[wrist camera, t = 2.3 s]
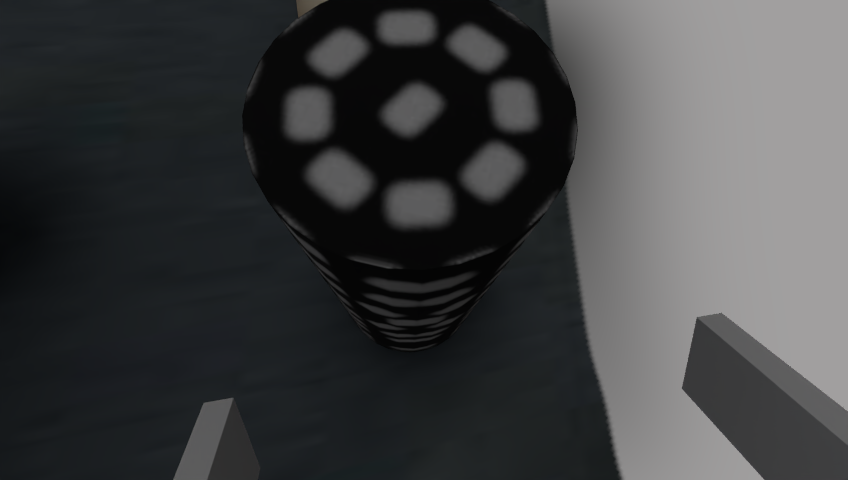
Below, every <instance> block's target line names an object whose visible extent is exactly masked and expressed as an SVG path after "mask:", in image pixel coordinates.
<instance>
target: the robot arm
mask: <svg viewBox="0 0 848 480" xmlns="http://www.w3.org/2000/svg"><path fill="white" fill-rule="evenodd" d="M682 389H683V390H684V391H685V392H686V394H687V395H688V396H689V397H690V398H691V399H692V400H693V401H694V402H695V403H696V405H697V406H698V407H699V408H700V409H701V410H702V411H703V412H704V413H705V414H706V416H707V417H708V418H709V419H710V420H711V421H712V422H713V423H714V424H715V425H716V427H717V428H718V429H719V430H720V431H721V432H722V433H723V434H724V435H725V437H726V438H727V439H728V440H729V441H730V442H731V443H732V444H733V445H734V446H735V448H736V449H737V450H738V451H739V452H740V453H741V454H742V455H743V456H744V458H745V459H746V460H747V461H748V462H749V463H750V464H751V465H752V466H753V468H754V469H755V470H756V471H757V472H758V473H759V474H760V475H761V476H762V477H763V479H764V480H848V411H846V410H845V409H844V408H843V407H841V406H840V405H839V404H837V403H836V402H835V401H834V400H832V399H831V398H830V397H828V396H827V395H826V394H825V393H823V392H822V391H821V390H819V389H818V388H817V387H816V386H814V385H813V384H812V383H810V382H809V381H808V380H806V379H805V378H804V377H803V376H802V375H800V374H799V373H798V372H796V371H795V370H794V369H792V368H791V367H790V366H789V365H787V364H786V363H785V362H784V361H782V360H781V359H780V358H778V357H777V356H776V355H775V354H773V353H772V352H770V351H769V350H768V349H767V348H766V347H764V346H763V345H762V344H761V343H759V342H758V341H757V340H755V339H754V338H753V337H751V336H750V335H749V334H747V333H746V332H745V331H744V330H743V329H741V328H740V327H739V326H737V325H736V324H735V323H734V322H732V321H731V320H730V319H728V318H727V317H726V316H725V315H723V314H722V313H719V314H713V315H708V316H702V317H697V319H696V324H695V329H694V334H693V339H692V343H691V348H690V353H689V358H688V362H687V367H686V372H685V377H684V382H683V386H682ZM259 471H260V466H259V463H258V461H257V458H256V455H255V453H254V450H253V447H252V445H251V442H250V440H249V437H248V434H247V432H246V429H245V426H244V424H243V421H242V419H241V416H240V413H239V411H238V408H237V406H236V403H235V400H234V398H229V399H223V400H218V401H212V402H206V403H204V404H203V406H202V409H201V411H200V414H199V416H198V419H197V421H196V424H195V426H194V429H193V431H192V434H191V436H190V439H189V442H188V444H187V447H186V449H185V452H184V454H183V457H182V459H181V462H180V464H179V467H178V469H177V472H176V474H175V477H174V479H173V480H258V476H259Z"/></svg>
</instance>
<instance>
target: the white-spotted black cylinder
mask: <svg viewBox="0 0 848 480" xmlns="http://www.w3.org/2000/svg"><path fill="white" fill-rule="evenodd" d="M242 118H243V139H244V147H245V151H246V154H247V157H248V161H249V164H250V168H251V171H252V174H253V176H254V178H255V179H256V181H257V183H258V185H259V186H260V188H261V190H262V192H263V194H264V195H265V197H266V199H267V201H268V202H269V203H270V205H271V206H272V208H273V209H274V210H275V212H276V213H277V214H278V216H279V217H280V219H281V220H282V221H283V223H284V224H285V226H286V227H287V228H288V230H289V231H290V232H291V234H292V235H293V237H294V238H295V239H296V241H297V242H298V244H299V245H300V246H301V248H302V249H303V250H304V252H305V253H306V255H307V256H308V257H309V259H310V260H311V262H312V263H313V264H314V266H315V267H316V268H317V270H318V271H319V273H320V274H321V275H322V277H323V278H324V280H325V281H326V282H327V284H328V285H329V286H330V288H331V289H332V291H333V292H334V293H335V295H336V296H337V298H338V299H339V300H340V302H341V303H342V304H343V306H344V307H345V309H346V310H347V311H348V313H349V314H350V315H351V317H352V318H353V320H354V321H355V322H356V324H357V325H358V327H359V328H360V329H361V330H362V331H363V332H364V333H365V334H366V335H367V336H368V337H369V338H370V339H372V340H373V341H375V342H376V343H377V344H380V345H382V346H384V347H386V348H388V349H392V350H397V351H402V352H415V351H421V350H426V349H429V348H432V347H434V346H437V345H439V344H440V343H442V342H443V341H445V340H446V339H448V338H449V337H450V336H451V335H452V334H453V333H454V332H455V331H456V330H457V329H458V328H459V327H460V325H461V324H462V323H463V321H464V320H465V319H466V317H467V316H468V315H469V313H470V312H471V311H472V309H473V308H474V307H475V305H476V304H477V303H478V302H479V300H480V299H481V298H482V296H483V295H484V294H485V292H486V291H487V290H488V288H489V287H490V286H491V284H492V283H493V282H494V280H495V279H496V278H497V276H498V275H499V274H500V272H501V271H502V270H503V268H504V267H505V266H506V264H507V263H508V262H509V260H510V259H511V258H512V257H513V255H514V254H515V253H516V251H517V250H518V249H519V247H520V246H521V245H522V243H523V242H524V241H525V239H526V238H527V237H528V235H529V234H530V233H531V231H532V230H533V229H534V227H535V226H536V225H537V223H538V222H539V221H540V219H541V218H542V217H543V215H544V214H545V213H546V211H547V210H548V208H549V207H550V206H551V204H552V203H553V201H554V200H555V198H556V197H557V195H558V194H559V192H560V191H561V189H562V188H563V186H564V184H565V181H566V178H567V176H568V173H569V170H570V168H571V165H572V163H573V160H574V155H575V147H576V140H577V132H578V127H577V116H576V106H575V101H574V98H573V95H572V91H571V88H570V85H569V82H568V79H567V76H566V74H565V73H564V71H563V69H562V68H561V66H560V64H559V62H558V60H557V59H556V57H555V55H554V54H553V52H552V51H551V50H550V48H549V47H548V46H547V45H546V44H545V43H544V42H543V40H542V39H541V38H540V37H539V36H538V35H537V33H536V32H535V31H534V30H532V29H531V28H530V27H529V26H527V25H526V24H525V23H524V22H522V21H521V20H520V19H519V18H517V17H516V16H515V15H514V14H512V13H511V12H509V11H507V10H505V9H504V8H502V7H500V6H498V5H496V4H495V3H493V2H491V1H489V0H328V1H325V2H323V3H321V4H319V5H317V6H316V7H314V8H313V9H311V10H310V11H308V12H306V13H305V14H303V15H302V16H300V17H299V18H297V19H296V20H295V21H294V22H293V23H291V24H290V25H289V26H288V27H287V28H286V29H285V30H284V31H283V32H282V33H281V34H280V35H279V36H278V37H277V38H276V39H275V40H274V41H273V43H272V44H271V45H270V47H269V48H268V50H267V51H266V52H265V54H264V55H263V57H262V58H261V60H260V61H259V63H258V65H257V67H256V69H255V72H254V74H253V76H252V79H251V81H250V83H249V86H248V88H247V94H246V99H245V104H244V110H243V115H242Z"/></svg>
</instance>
